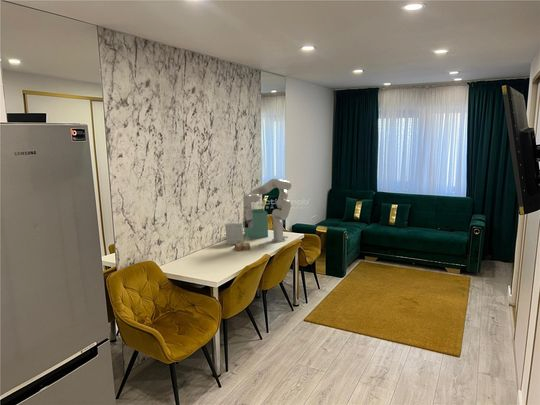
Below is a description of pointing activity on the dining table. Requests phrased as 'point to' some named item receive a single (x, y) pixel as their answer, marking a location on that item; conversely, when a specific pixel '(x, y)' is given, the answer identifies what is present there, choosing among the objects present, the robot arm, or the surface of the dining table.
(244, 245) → the tray
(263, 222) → the box
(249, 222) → the block
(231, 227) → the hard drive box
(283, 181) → the robot arm
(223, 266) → the dining table surface
